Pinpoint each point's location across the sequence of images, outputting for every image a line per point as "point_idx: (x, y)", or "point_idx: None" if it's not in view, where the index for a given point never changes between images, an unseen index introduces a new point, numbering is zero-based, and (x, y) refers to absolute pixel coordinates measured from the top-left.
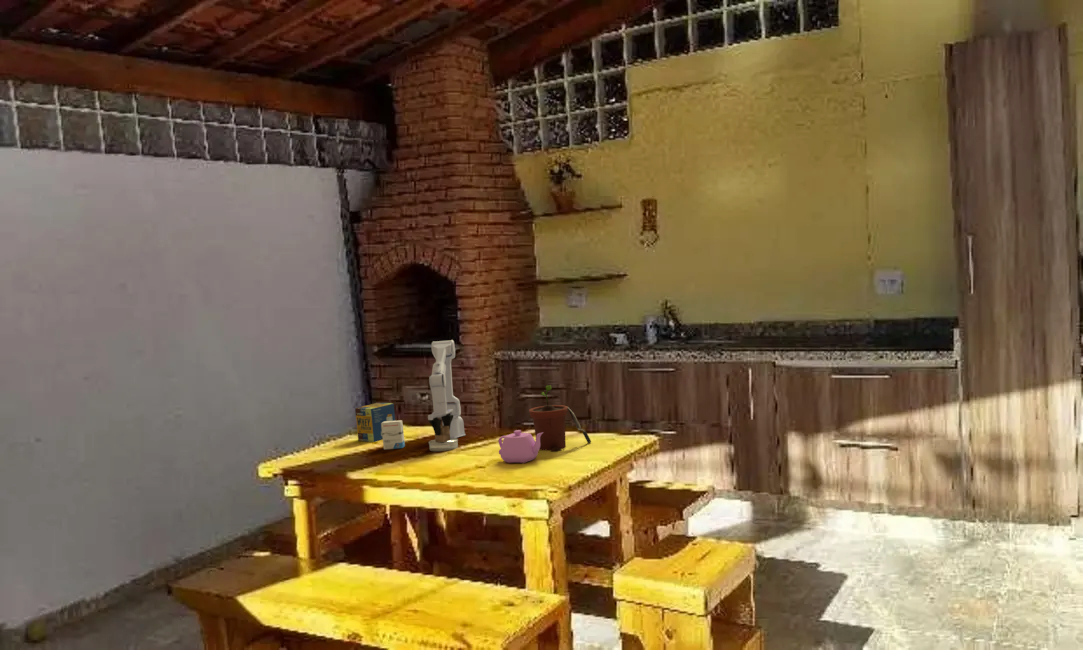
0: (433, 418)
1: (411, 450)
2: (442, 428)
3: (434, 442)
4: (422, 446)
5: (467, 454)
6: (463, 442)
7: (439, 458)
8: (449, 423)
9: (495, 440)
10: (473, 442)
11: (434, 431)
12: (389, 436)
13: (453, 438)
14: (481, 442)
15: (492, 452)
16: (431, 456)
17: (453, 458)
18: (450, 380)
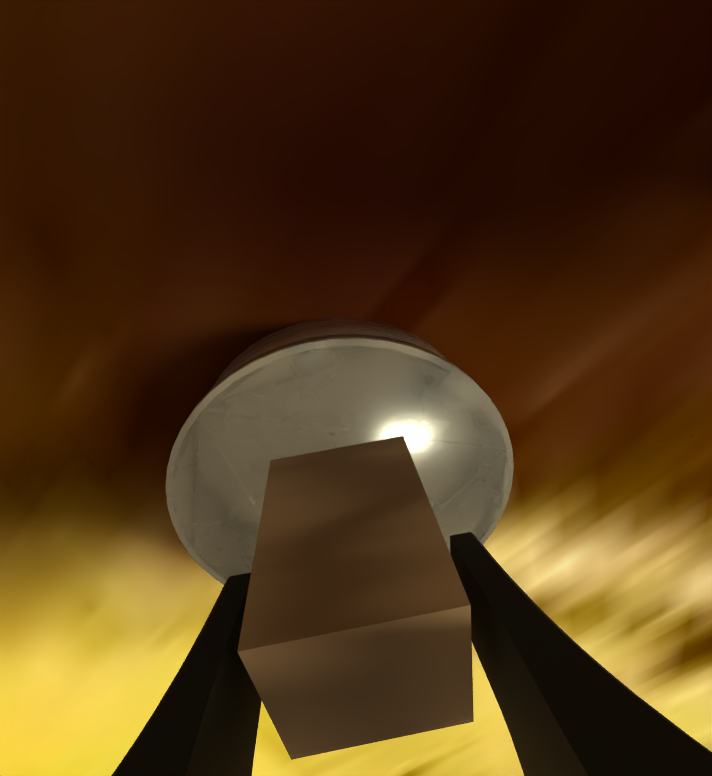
0: None
1: (41, 150)
2: (291, 747)
3: (230, 485)
4: (304, 92)
5: (262, 706)
6: (590, 436)
7: (74, 668)
8: (524, 754)
9: (659, 586)
10: (593, 508)
11: (200, 635)
12: None
13: (477, 513)
14: (594, 556)
15: (360, 750)
16: (63, 590)
17: (140, 718)
18: None
